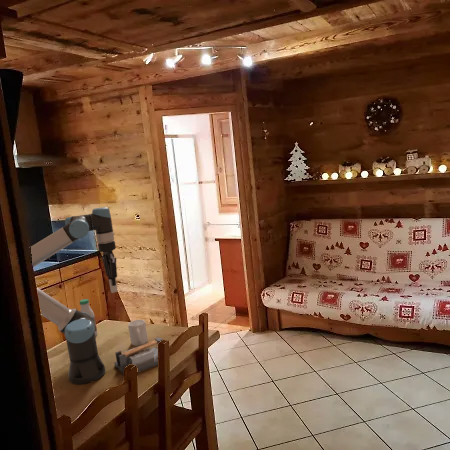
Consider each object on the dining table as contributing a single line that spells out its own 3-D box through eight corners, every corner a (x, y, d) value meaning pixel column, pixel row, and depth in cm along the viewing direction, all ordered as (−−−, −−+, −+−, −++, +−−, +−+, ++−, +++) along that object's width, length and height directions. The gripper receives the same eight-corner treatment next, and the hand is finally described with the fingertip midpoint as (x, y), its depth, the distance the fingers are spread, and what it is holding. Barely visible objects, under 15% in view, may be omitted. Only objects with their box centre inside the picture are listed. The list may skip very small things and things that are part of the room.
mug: (149, 346, 214) (146, 326, 213) (131, 350, 213) (128, 330, 211) (147, 337, 226) (144, 318, 224) (130, 341, 224) (127, 321, 223)
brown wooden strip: (121, 359, 190) (120, 357, 190) (118, 357, 193) (117, 355, 193) (157, 343, 199) (157, 341, 199) (154, 341, 202) (154, 339, 202)
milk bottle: (79, 339, 234) (73, 302, 231) (88, 333, 242) (81, 297, 238) (92, 339, 232) (86, 302, 229) (100, 333, 239) (94, 297, 236)
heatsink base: (126, 377, 186) (123, 359, 185) (114, 366, 198) (111, 349, 197) (170, 360, 197) (167, 342, 196) (156, 350, 209) (154, 334, 208)
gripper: (119, 241, 198) (127, 292, 202) (109, 238, 209) (117, 287, 212) (102, 245, 194) (111, 297, 198) (93, 242, 205) (101, 291, 208)
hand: (114, 291), depth 205 cm, fingers closed
